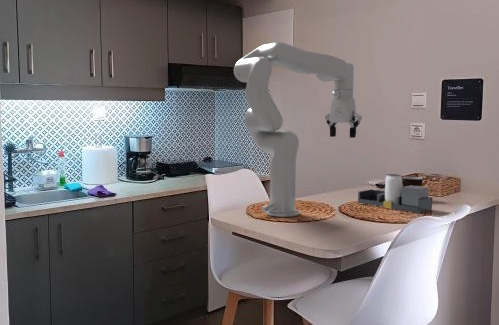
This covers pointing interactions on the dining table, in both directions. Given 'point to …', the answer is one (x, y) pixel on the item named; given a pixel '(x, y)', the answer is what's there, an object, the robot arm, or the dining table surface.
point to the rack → (400, 199)
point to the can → (393, 187)
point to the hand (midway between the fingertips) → (342, 137)
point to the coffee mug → (412, 181)
